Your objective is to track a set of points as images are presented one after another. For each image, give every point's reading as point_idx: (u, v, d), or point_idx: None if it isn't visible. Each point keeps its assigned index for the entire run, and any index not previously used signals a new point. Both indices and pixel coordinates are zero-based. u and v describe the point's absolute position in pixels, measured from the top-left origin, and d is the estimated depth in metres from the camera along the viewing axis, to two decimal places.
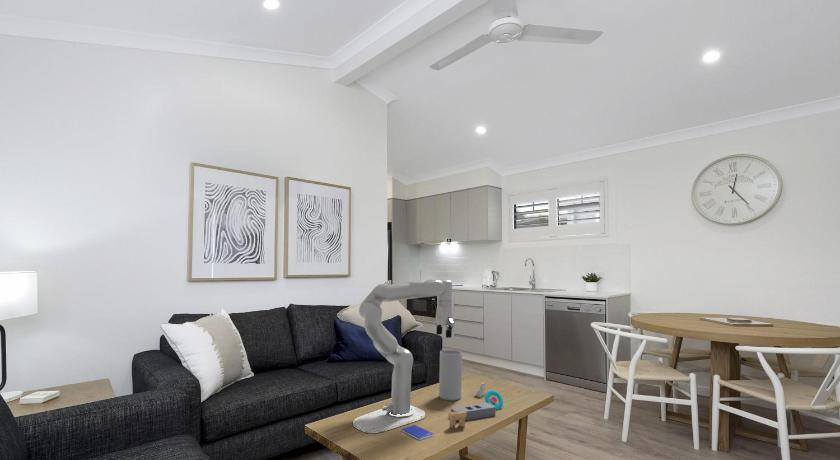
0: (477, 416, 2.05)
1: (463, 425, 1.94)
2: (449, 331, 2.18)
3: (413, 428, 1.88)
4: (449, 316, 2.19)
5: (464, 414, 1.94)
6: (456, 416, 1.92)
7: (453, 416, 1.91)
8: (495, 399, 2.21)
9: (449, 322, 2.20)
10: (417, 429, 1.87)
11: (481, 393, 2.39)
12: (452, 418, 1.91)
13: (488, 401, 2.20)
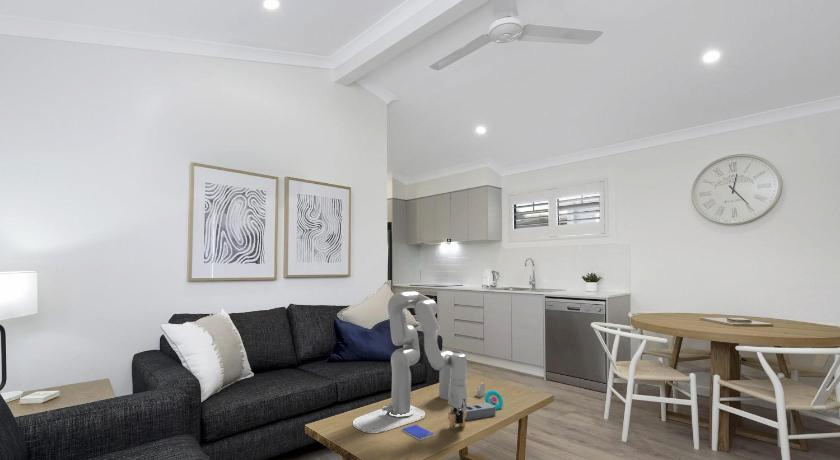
0: (477, 416, 2.05)
1: (463, 425, 1.94)
2: (460, 416, 1.91)
3: (413, 428, 1.88)
4: (464, 398, 1.90)
5: (464, 414, 1.94)
6: None
7: (453, 416, 1.91)
8: (495, 399, 2.21)
9: None
10: (417, 429, 1.87)
11: (481, 393, 2.39)
12: (452, 418, 1.91)
13: (488, 401, 2.20)
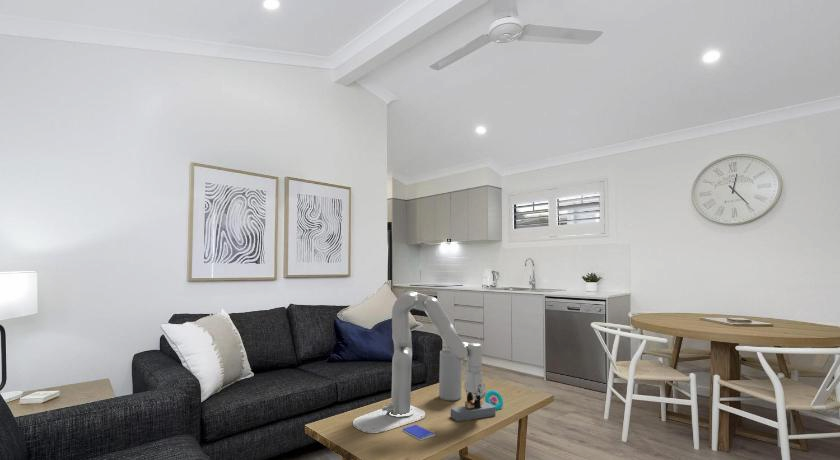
0: (477, 416, 2.05)
1: None
2: (478, 401, 2.05)
3: (414, 428, 1.88)
4: (480, 384, 2.05)
5: None
6: (472, 404, 2.07)
7: (470, 404, 2.06)
8: (495, 399, 2.21)
9: (479, 390, 2.07)
10: (418, 429, 1.87)
11: None
12: (469, 406, 2.06)
13: (488, 401, 2.20)
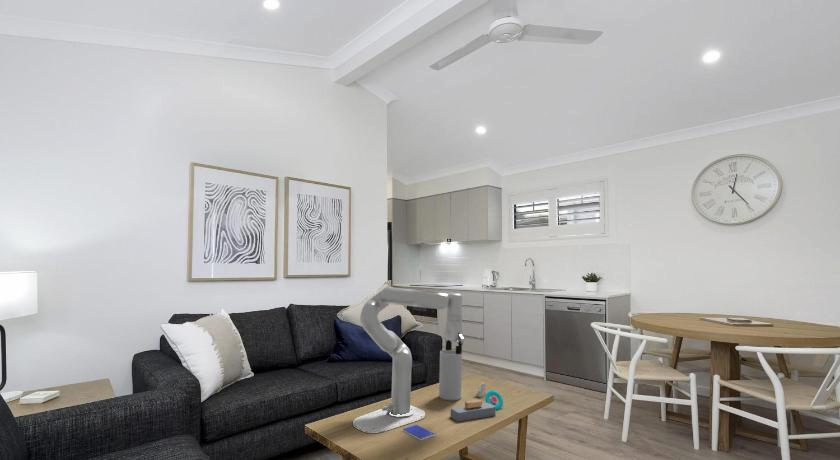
0: (477, 416, 2.05)
1: None
2: (459, 347, 2.08)
3: (414, 428, 1.88)
4: (459, 332, 2.10)
5: (479, 403, 2.09)
6: (472, 404, 2.07)
7: (470, 404, 2.06)
8: (495, 399, 2.21)
9: (459, 338, 2.11)
10: (418, 429, 1.87)
11: (481, 393, 2.39)
12: (469, 406, 2.06)
13: (488, 401, 2.20)
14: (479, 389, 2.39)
